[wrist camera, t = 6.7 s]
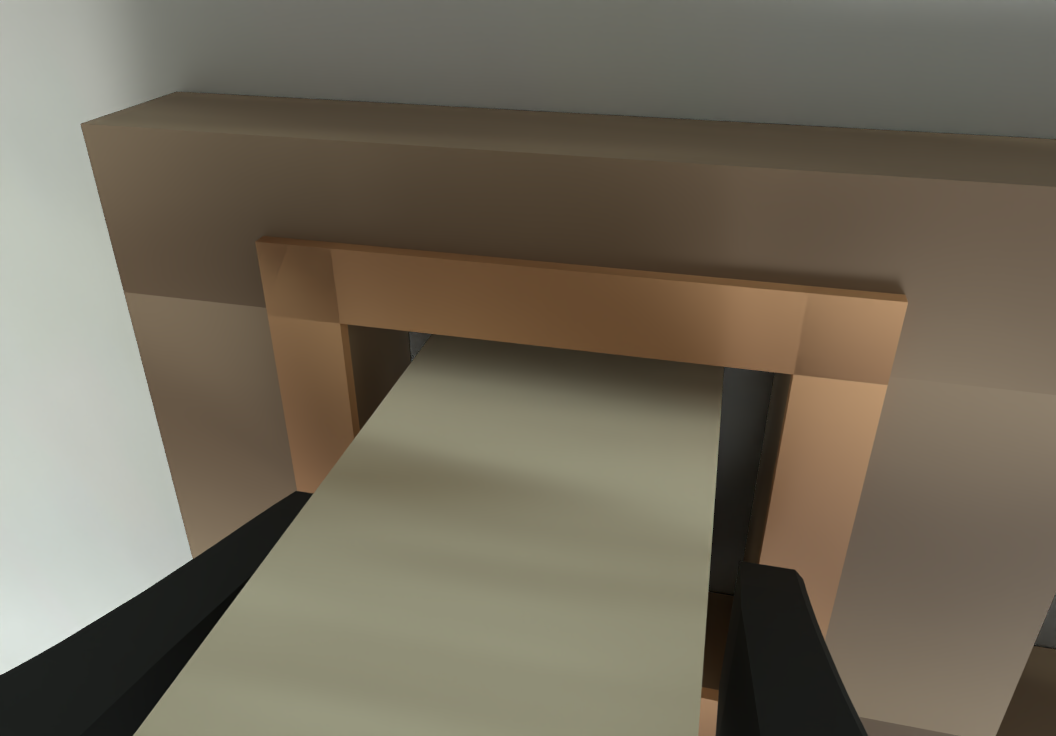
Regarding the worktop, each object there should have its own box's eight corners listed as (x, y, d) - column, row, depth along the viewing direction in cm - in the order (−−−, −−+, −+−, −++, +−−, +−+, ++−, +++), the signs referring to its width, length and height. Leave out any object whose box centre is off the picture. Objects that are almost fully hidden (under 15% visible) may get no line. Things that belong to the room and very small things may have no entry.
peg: (697, 549, 14) (637, 1182, 7) (464, 511, 15) (206, 1049, 8) (726, 332, 12) (684, 924, 5) (455, 302, 13) (100, 777, 6)
